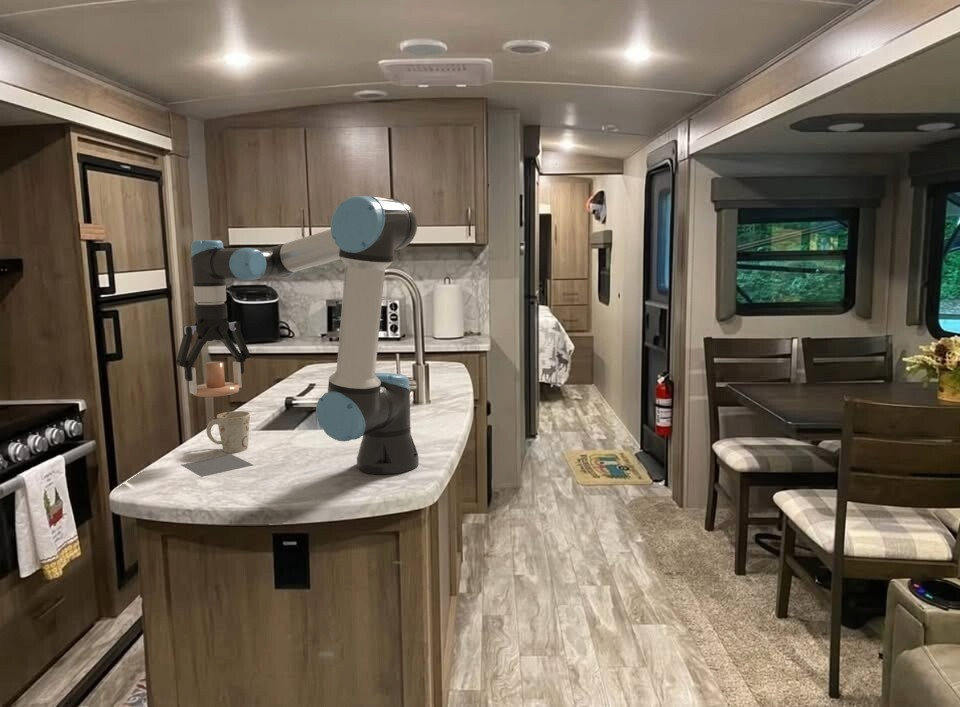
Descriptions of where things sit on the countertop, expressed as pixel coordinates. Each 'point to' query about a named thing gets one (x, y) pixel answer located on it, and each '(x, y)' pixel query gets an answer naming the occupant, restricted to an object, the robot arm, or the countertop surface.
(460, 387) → the countertop surface
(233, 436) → the mug
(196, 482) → the countertop surface
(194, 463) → the mat
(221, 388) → the lid
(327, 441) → the countertop surface
